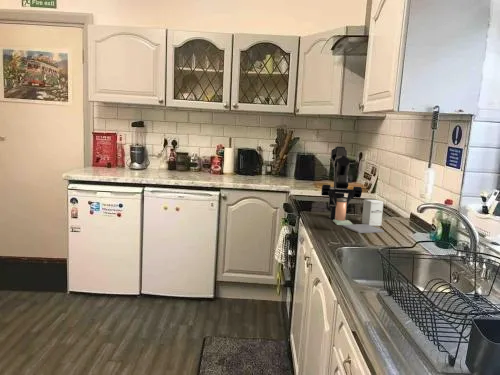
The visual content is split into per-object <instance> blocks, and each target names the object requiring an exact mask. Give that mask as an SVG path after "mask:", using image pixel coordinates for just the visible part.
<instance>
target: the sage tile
mask: <svg viewBox="0 0 500 375" xmlns="http://www.w3.org/2000/svg"><path fill="white" fill-rule="evenodd" d="M332 222H333V223H335V225H338V226H343V225H354V223H352V222H351V220H348V219H345V220H344V221H340V220H335V219H332Z"/></svg>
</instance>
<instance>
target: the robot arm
mask: <svg viewBox="0 0 500 375" xmlns="http://www.w3.org/2000/svg"><path fill="white" fill-rule="evenodd" d="M347 154H348V150H347V149H346V147H345V146H343V145H342V146H339V145H337V146H335V147H334V148H333V149H331V152H330V159H331V164H332V165H333V168H334V169H333V186H331V184H321V194H320V195H321V196H324V197H328V208H330V215H329V216H328V218H329V219H330V220H335V212H336V199H337V198H346V197H345V194H347V198H346V199H347V206H346V207H348V206H349V203H350V201H351V200H352V199H353V200H354V198H355V199H360V198H361V197H362V193H363V187H362V186H356V185H353V187H352V188H349V183H352V182H353V175H352V174H348V173H349V169H350V168H351V167H352V163H351V161H350V159H349V158H348V155H347Z"/></svg>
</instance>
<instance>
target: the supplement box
mask: <svg viewBox="0 0 500 375" xmlns="http://www.w3.org/2000/svg"><path fill="white" fill-rule="evenodd" d="M383 209H384V201H382V200H378V199H363V206H362V216H361V217H362V218H361V224H368V225H371V226H373V227H378V226H379V227H381V226H382V222H383V221H382V220H383V211H384V210H383Z"/></svg>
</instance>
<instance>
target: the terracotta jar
mask: <svg viewBox="0 0 500 375" xmlns="http://www.w3.org/2000/svg"><path fill="white" fill-rule="evenodd" d="M347 207H348V206H347V198H346V197H345V198H337V199H336V212H335V219H334V220H340V221H344V220H346V217H347V216H346V215H347Z"/></svg>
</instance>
